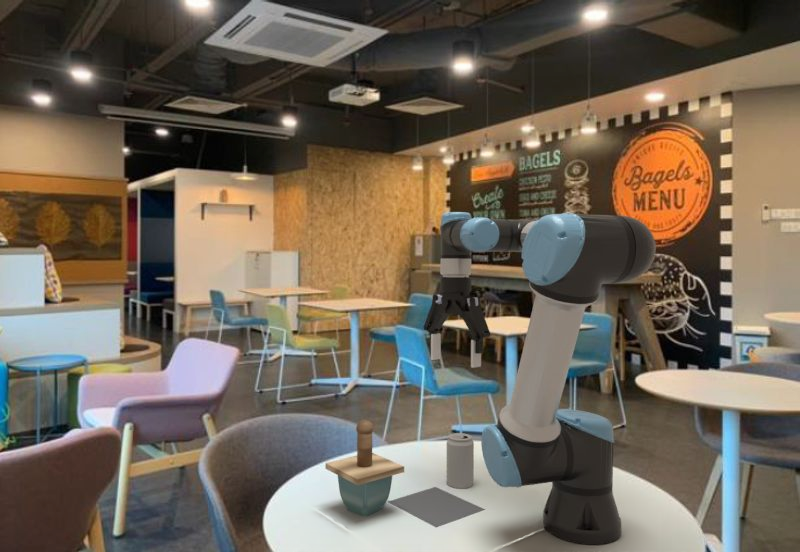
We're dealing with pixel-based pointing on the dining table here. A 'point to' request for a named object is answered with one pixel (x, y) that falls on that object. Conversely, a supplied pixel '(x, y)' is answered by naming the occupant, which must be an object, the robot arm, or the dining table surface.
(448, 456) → the beverage can
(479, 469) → the dining table surface
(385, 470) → the lid
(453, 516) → the mat
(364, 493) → the flower pot
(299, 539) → the dining table surface
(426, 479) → the dining table surface
